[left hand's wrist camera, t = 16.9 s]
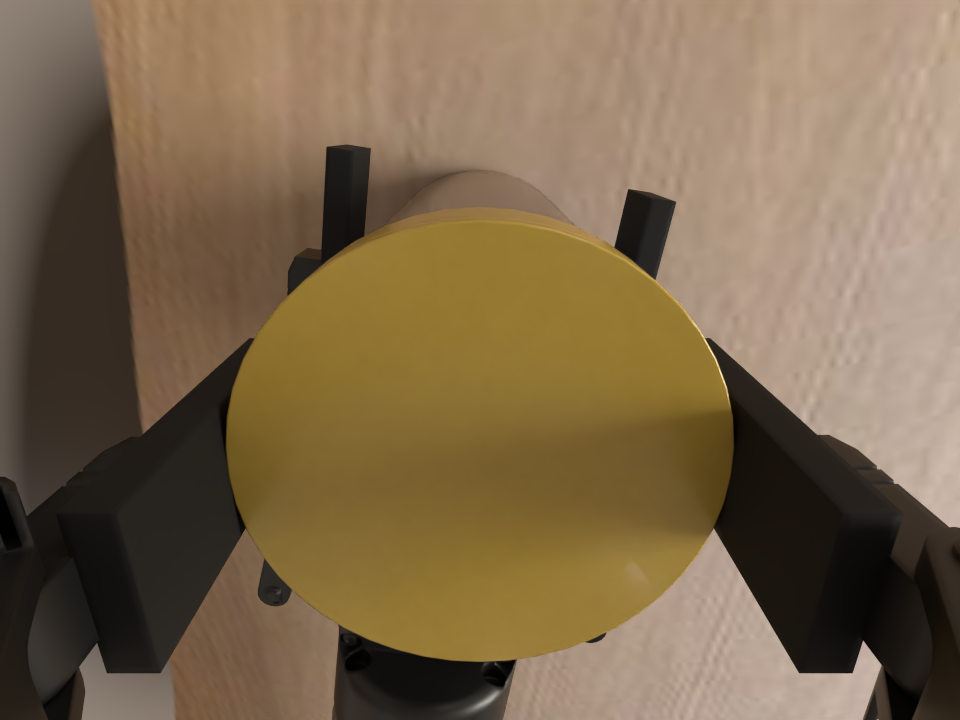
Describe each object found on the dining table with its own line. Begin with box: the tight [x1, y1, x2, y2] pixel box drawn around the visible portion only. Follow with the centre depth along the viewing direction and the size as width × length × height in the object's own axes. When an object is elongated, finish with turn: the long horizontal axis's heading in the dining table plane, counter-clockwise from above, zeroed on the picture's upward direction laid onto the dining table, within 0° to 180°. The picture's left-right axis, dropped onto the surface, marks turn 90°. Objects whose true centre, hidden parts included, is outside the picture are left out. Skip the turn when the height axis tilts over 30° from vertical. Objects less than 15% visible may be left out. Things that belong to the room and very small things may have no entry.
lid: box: [225, 207, 734, 662], centre depth 11 cm, size 9×9×2 cm
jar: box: [383, 170, 577, 227], centre depth 18 cm, size 8×8×16 cm
